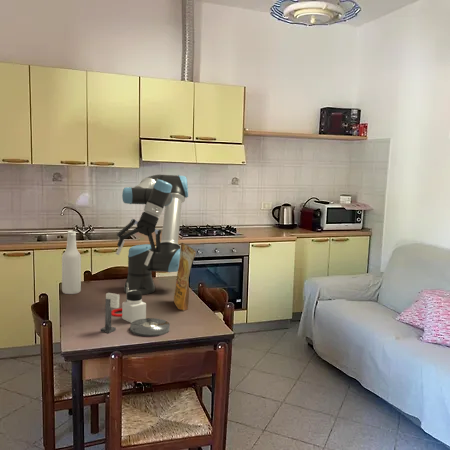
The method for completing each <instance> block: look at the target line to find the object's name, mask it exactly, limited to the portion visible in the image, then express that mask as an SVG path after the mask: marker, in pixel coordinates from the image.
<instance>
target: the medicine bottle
mask: <svg viewBox="0 0 450 450" xmlns="http://www.w3.org/2000/svg"><path fill="white" fill-rule="evenodd" d="M142 298H143V294H142V292H141V291H139V290H131V291H128V292H127V297H126V300H127V301H126V300H125V301H123V302H122V304H121V305H122V307H121V308H122V311H121V314H122V317H121V318H122V320H124V321H126V322H128V323H130V324H131V323H132V322H133V321H136V320H139V319H145V318H147V303H146V302H144V301H143V299H142Z"/></svg>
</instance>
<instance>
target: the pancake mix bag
mask: <svg viewBox="0 0 450 450" xmlns="http://www.w3.org/2000/svg"><path fill="white" fill-rule="evenodd" d="M179 245H180V260H179V268H178V271H177V272H176V280H175V281H176V282H175V289H174V293H173V294H174V295H173V296H174V297H173V302H174V305H175V306H176V307H177V309H178V311H187V310H188V309H189V301H190V300H189V299H190V283H189V277H190V274H191V270H192V265H193V262H194V259H195V257H196V250H195V249H194V248H193V247H191V246H189V245H188V244H185V243H183V242H181V243H179Z"/></svg>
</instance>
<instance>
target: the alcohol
mask: <svg viewBox="0 0 450 450" xmlns="http://www.w3.org/2000/svg"><path fill="white" fill-rule="evenodd" d="M66 233H67V239H66V248H65V251H64V252H63V253H62V257H61V291H62V293H63V294H65V295H76V294H79V293H80V292H81V291H82V256H81V253H80V252H79V250H78V248H77V234H76V233H77V231H75V230H68V231H67V232H66Z"/></svg>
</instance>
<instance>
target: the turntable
mask: <svg viewBox="0 0 450 450" xmlns="http://www.w3.org/2000/svg"><path fill="white" fill-rule="evenodd" d="M170 324H171V323H169V322H168V321H167V320H165V319H162V318H154V317H146V318H145V319H139V320H136V321H133V322H132V323H130V325H129V326H130V327H129V328H130V332H131V333H132V334H133V335H136V336H139V337H159V336H163V335H165V334H168V333H169V332H170Z"/></svg>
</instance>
